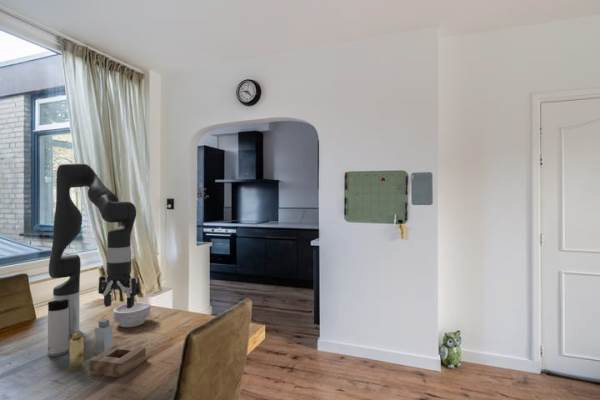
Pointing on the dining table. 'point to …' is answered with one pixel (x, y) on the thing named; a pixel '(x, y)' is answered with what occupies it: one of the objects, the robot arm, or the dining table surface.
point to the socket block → (117, 360)
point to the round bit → (76, 352)
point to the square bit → (103, 336)
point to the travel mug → (58, 327)
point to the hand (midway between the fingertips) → (119, 306)
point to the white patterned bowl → (131, 314)
